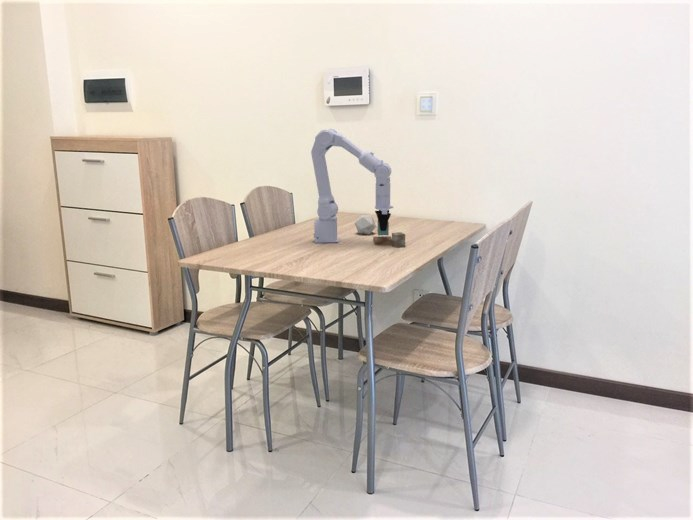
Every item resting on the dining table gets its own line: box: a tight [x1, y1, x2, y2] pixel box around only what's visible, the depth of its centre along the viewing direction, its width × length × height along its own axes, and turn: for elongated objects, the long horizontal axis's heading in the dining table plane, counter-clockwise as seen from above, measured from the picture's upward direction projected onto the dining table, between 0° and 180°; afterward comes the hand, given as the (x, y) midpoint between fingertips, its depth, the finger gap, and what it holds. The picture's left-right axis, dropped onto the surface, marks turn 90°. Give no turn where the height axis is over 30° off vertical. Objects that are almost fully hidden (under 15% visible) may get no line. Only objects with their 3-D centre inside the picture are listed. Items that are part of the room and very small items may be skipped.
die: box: [354, 214, 377, 236], centre depth 249 cm, size 8×9×10 cm
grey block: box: [391, 231, 406, 248], centre depth 225 cm, size 4×4×5 cm
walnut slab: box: [372, 235, 392, 246], centre depth 231 cm, size 7×7×2 cm
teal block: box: [376, 220, 390, 236], centre depth 230 cm, size 4×4×5 cm
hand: (382, 229), depth 230 cm, fingers closed on teal block, 4 cm apart
